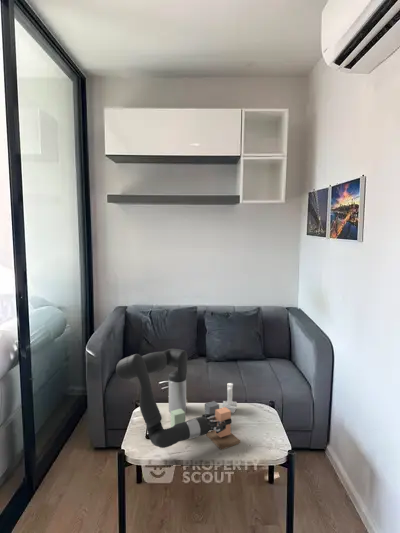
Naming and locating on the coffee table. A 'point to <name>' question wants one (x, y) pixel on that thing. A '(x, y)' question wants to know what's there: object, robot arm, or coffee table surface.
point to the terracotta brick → (223, 415)
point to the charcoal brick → (211, 407)
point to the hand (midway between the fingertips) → (227, 418)
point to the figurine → (230, 399)
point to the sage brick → (177, 417)
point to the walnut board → (223, 440)
